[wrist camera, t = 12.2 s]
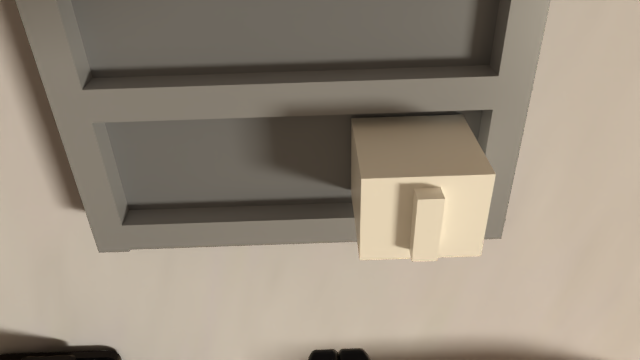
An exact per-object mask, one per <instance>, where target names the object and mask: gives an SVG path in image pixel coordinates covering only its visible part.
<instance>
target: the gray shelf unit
mask: <svg viewBox="0 0 640 360" xmlns="http://www.w3.org/2000/svg"><path fill="white" fill-rule="evenodd" d="M550 1H551V0H15V2H16V5H17V8H18V11H19V14H20V17H21V20H22V23H23V26H24V29H25V32H26V35H27V38H28V41H29V44H30V47H31V50H32V53H33V56H34V59H35V62H36V65H37V68H38V71H39V74H40V77H41V80H42V83H43V86H44V89H45V92H46V95H47V98H48V101H49V104H50V107H51V110H52V113H53V116H54V119H55V122H56V125H57V128H58V131H59V134H60V137H61V140H62V143H63V146H64V149H65V152H66V155H67V158H68V161H69V164H70V167H71V170H72V173H73V176H74V179H75V182H76V185H77V188H78V191H79V194H80V197H81V200H82V203H83V206H84V209H85V212H86V215H87V218H88V221H89V224H90V227H91V230H92V233H93V236H94V239H95V242H96V245H97V248H98V251H99V253H100V252H129V251H130V250H131V249H160V248H189V247H218V246H247V245H276V244H305V243H333V242H357V235H356V228H355V220H354V212H353V204H352V196H351V119H352V118H373V117H403V116H433V115H463V116H464V118H465V120H466V122H467V123H468V125H469V127H470V129H471V131H472V132H473V134H474V136H475V138H476V140H477V141H478V143H479V145H480V147H481V148H482V150H483V152H484V154H485V156H486V157H487V159H488V161H489V163H490V165H491V166H492V168H493V170H494V172H495V174H496V177H495V182H494V187H493V193H492V198H491V204H490V209H489V214H488V220H487V225H486V231H485V236H484V239H501V237H502V232H503V227H504V223H505V218H506V213H507V208H508V203H509V199H510V194H511V189H512V184H513V179H514V174H515V170H516V165H517V160H518V155H519V150H520V146H521V141H522V136H523V131H524V126H525V121H526V117H527V112H528V107H529V102H530V97H531V93H532V88H533V83H534V78H535V73H536V68H537V64H538V59H539V54H540V49H541V44H542V40H543V35H544V30H545V25H546V20H547V15H548V11H549V6H550Z"/></svg>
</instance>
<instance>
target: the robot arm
mask: <svg viewBox="0 0 640 360" xmlns="http://www.w3.org/2000/svg"><path fill="white" fill-rule="evenodd" d="M0 360H121V357H120V355H119V354H118V353H116V352H113V351H88V352H60V353H32V354H4V355H0ZM308 360H371V359H370V358H369V356H368V354H367V353H366V352H365V350H363V349H361V348H355V349H341V350H340V351H339V353H338V352H337V351H336V350H334V349H327V350H314V351H313V352H312V353H311V354H310V356H309V359H308Z"/></svg>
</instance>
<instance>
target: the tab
mask: <svg viewBox="0 0 640 360" xmlns="http://www.w3.org/2000/svg"><path fill="white" fill-rule="evenodd" d="M495 177H496V174H495V172H494V170H493V168H492V166H491V165H490V163H489V161H488V159H487V157H486V156H485V154H484V152H483V150H482V148H481V147H480V145H479V143H478V141H477V140H476V138H475V136H474V134H473V132H472V131H471V129H470V127H469V125H468V123H467V122H466V120H465V118H464V116H463V115H433V116H403V117H373V118H352V119H351V196H352V204H353V212H354V220H355V228H356V235H357V243H358V251H359V259H360V260H381V259H410V258H411V260H412V262H419V261H437V259H438V258H439V257H468V256H481V252H482V247H483V241H484V236H485V231H486V225H487V220H488V214H489V209H490V204H491V198H492V193H493V187H494V182H495Z"/></svg>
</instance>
